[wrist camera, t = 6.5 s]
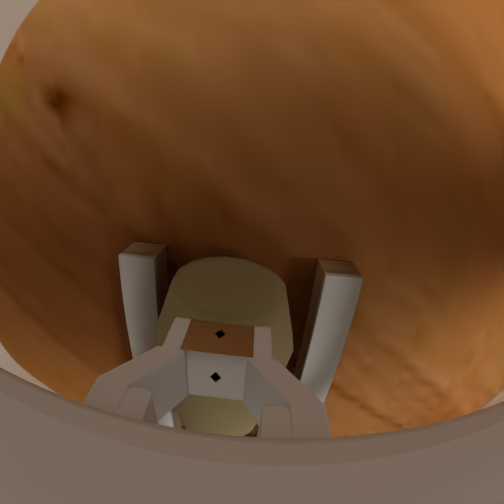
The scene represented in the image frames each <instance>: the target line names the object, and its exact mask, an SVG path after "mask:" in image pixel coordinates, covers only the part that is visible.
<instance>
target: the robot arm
mask: <svg viewBox="0 0 504 504" xmlns="http://www.w3.org/2000/svg"><path fill="white" fill-rule="evenodd" d="M188 394H193V395H201V396H210V397H215V396H216V397H219V398H226V399H234V400H243V403H244V404H245V406H246V408H247V409H248V411H249V412H250V414H251V415H252V417H253V418H254V420H255V421H256V423H257V424H258V426H259V427H258V432H257V437H244V436H232V435H222V434H214V433H206V432H199V431H192V430H186V429H180V428H175V427H169V426H164V425H159V424H158V421H159V420H160V419H162V418H163V417H164V416H165V415H166V414H167V413H169V412H170V411H171V410H172V409H173V408H174V407H176V406H177V405H178V404H179V403H180V402H181V401H182V400H183V399H185V398H186V397H187V396H188ZM0 504H504V402H501V403H498V404H496V405H493V406H490V407H487V408H484V409H481V410H478V411H475V412H472V413H469V414H465V415H462V416H459V417H455V418H451V419H447V420H444V421H439V422H435V423H431V424H427V425H422V426H417V427H412V428H407V429H401V430H395V431H389V432H382V433H374V434H366V435H356V436H345V437H332V434H331V429H330V424H329V419H328V415H327V410H326V405H325V404H324V403H322V402H321V401H320V400H319V399H318V398H317V397H316V396H315V395H314V394H313V393H312V392H311V391H309V390H308V389H307V388H306V387H305V386H304V385H303V384H302V383H301V382H300V381H299V380H298V379H297V378H296V377H295V376H294V375H293V374H291V373H290V372H289V371H288V370H287V369H286V368H285V367H284V366H283V365H282V364H281V363H280V362H279V361H278V360H275V359H272V340H271V328H270V327H268V326H246V325H233V324H223V323H217V322H210V321H203V320H196V319H189V318H181V317H177V318H175V319H174V322H173V324H172V326H171V328H170V330H169V332H168V335H167V337H166V339H165V341H164V343H163V346H162V347H161V346H157V347H155V348H153V349H151V350H149V351H147V352H145V353H143V354H141V355H139V356H138V357H136V358H134V359H132V360H130V361H128V362H126V363H124V364H122V365H120V366H118V367H116V368H114V369H112V370H110V371H108V372H106V373H104V374H102V375H100V376H98V378H97V380H96V381H95V383H94V385H93V386H92V388H91V390H90V391H89V393H88V395H87V396H86V398H85V400H84V402H83V403H80V402H77V401H74V400H72V399H69V398H66V397H64V396H61V395H59V394H56V393H54V392H51V391H49V390H46V389H44V388H41V387H39V386H37V385H35V384H33V383H30V382H28V381H26V380H24V379H22V378H20V377H18V376H16V375H14V374H12V373H10V372H8V371H6V370H4V369H2V368H0Z"/></svg>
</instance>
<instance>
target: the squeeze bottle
mask: <svg viewBox="0 0 504 504" xmlns="http://www.w3.org/2000/svg"><path fill="white" fill-rule="evenodd" d="M177 317H181V318H189V319H196V320H203V321H210V322H217V323H223V324H233V325H246V326H268V327H270V328H271V340H272V359H275V360H278V361H279V362H280V363H281V364H282V365H283V366H284V367H286V365H287V363H288V361H289V359H290V357H291V355H292V353H293V334H292V326H291V319H290V312H289V305H288V298H287V291H286V285H285V283H284V282H283V281H282V279H281V278H280V277H279V275H278V274H277V273H275V272H274V271H272V270H271V269H269V268H268V267H266V266H265V265H263V264H260V263H257V262H254V261H251V260H248V259H244V258H237V257H230V256H215V257H205V258H201V259H197V260H194V261H191V262H189V263H187V264H186V265H184V266H183V267H181V268H179V269H178V271H177V272H176V274H175V276H174V278H173V279H172V282H171V285H170V287H169V290H168V293H167V296H166V299H165V302H164V305H163V308H162V310H161V313H160V316H159V319H158V322H157V325H156V328H155V330H156V340H157V346H161V347H162V346H163V343H164V341H165V339H166V337H167V335H168V332H169V330H170V328H171V326H172V324H173V322H174V319H175V318H177ZM175 408H176V411H177V414H178V417H179V419H180V421H181V422H182V423H183V424H184V426H185V427H186V428H187V430H192V431H199V432H206V433H214V434H222V435H232V436H244V435H246V434H248V433H249V432H251V431H252V430H253V428H254V427H255V425H256V424H257V423H256V421H255V420H254V418H253V417H252V415H251V414H250V412H249V411H248V409H247V408H246V406H245V404H244V403H243V400H234V399H226V398H219V397H216V396H215V397H210V396H201V395H193V394H188V396H187V397H186V398H185V399H183V400H182V401H181V402H180V403H179V404H178V405H177V406H176V407H175Z"/></svg>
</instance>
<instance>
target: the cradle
mask: <svg viewBox="0 0 504 504" xmlns="http://www.w3.org/2000/svg"><path fill="white" fill-rule="evenodd" d="M118 256H119V268H120V278H121V287H122V295H123V303H124V310H125V317H126V323H127V329H128V335H129V341H130V346H131V352H132V357H133V359H134V358H136V357H138V356H139V355H141V354H143V353H145V352H147V351H149V350H151V349H153V348H155V347H157V340H156V330H155V328H156V325H157V322H158V319H159V316H160V313H161V310H162V308H163V305H164V302H165V299H166V296H167V293H168V270H167V245H164V244H153V243H143V242H134V243H132V244H131V245H130V246H129V247H128V248H126V249H125V250H124V251H123V252H122V253H120V254H119V255H118ZM363 279H364V278H363V277H362V275H361V274H360V272H359V271H358V270H357V268H356V267H355V265H354V264H353V263H352V262H348V261H337V260H326V259H318V262H317V267H316V273H315V278H314V283H313V288H312V294H311V299H310V303H309V308H308V313H307V318H306V322H305V327H304V332H303V336H302V340H301V345H300V349H299V353H298V358H297V362H296V366H295V370H294V374H293V375H294V376H295V377H296V378H297V379H298V380H299V381H300V382H301V383H302V384H303V385H304V386H305V387H306V388H307V389H308V390H309V391H311V392H312V393H313V394H314V395H315V396H316V397H317V398H318V399H319V400H320V401H321V402H322V403H324V401H325V398H326V396H327V393H328V391H329V388H330V385H331V383H332V380H333V377H334V374H335V372H336V369H337V366H338V363H339V360H340V357H341V354H342V351H343V348H344V345H345V342H346V339H347V336H348V333H349V329H350V326H351V323H352V319H353V316H354V313H355V309H356V306H357V302H358V298H359V295H360V291H361V287H362V283H363ZM158 424H159V425H164V426H169V427H175V428H180V429H186V430H187V428H186V427H184V426H181V421H180V419H179V417H178V414H177V411H176V408H175V407H174V408H173V409H172V410H171V411H170V412H169V413H167V414H166V415H165V416H164V417H163V418H162V419H160V420H159V421H158ZM244 437H257V435H253V434H246V435H244Z"/></svg>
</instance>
